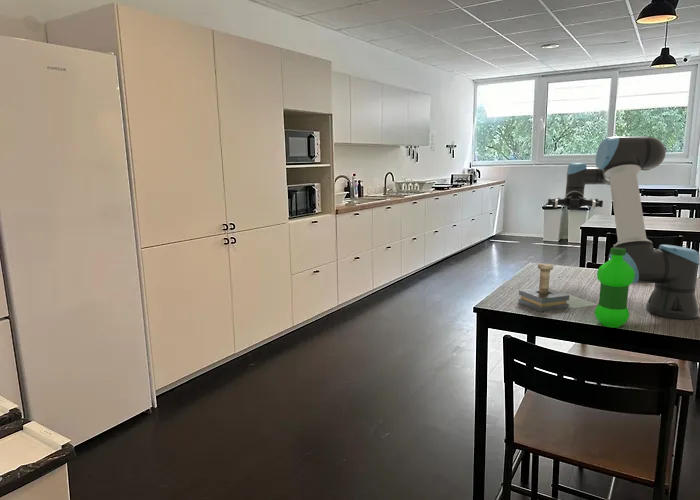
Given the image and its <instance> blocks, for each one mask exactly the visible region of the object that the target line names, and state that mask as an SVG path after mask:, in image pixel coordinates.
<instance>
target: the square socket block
mask: <svg viewBox="0 0 700 500" xmlns="http://www.w3.org/2000/svg"><path fill="white" fill-rule="evenodd" d="M569 295H570V294H567V293H564V292H561V291H558V290H555V289H553V288H550V287H549V291H548V294H546V295H542V294H539V287H533V288H524V289H519V290H518V296H520V297H518V301H517V302H518V304H519V305H522V306H524V307H527V308H530V309H532V310H534V311H537V312H539V313H545V312H549V311H554V310H556V311H557V310H562V309H569V308H570V307H569V304H568V303H567V300H569Z"/></svg>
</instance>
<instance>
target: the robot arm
mask: <svg viewBox="0 0 700 500" xmlns="http://www.w3.org/2000/svg"><path fill="white" fill-rule="evenodd" d="M666 152H667V151H666V147H665V145H664V143H662V141H660V140H659V139H657V138H655V137H652V136H645V135H643V136H619V135H617V136H611V137H610V136H609V137H605V138H603V140H601V142H600V143H599V144H598V148H597V150H596V154H595V165H596V166H595V167H592V166H590V167H589V166H587V164H586V163H584V162H581V163H580V162H578V163H577V162H571V163H568V165H567V171H566V184H565V185H566V186H565V195H564V198H561V197H556V198H548V199H547V205H548V206H551V208H558V206H564V207H566V208H568V209H569V210H573V211H577V210H579V209H581V208H582V207H592V209H593V210H595V209H596V208H603V203H604V201H603V200H601V199H599V198H595V199H594V198H589V199H587V198H586V197H584V196H585V195H584V194H585V185H607V186H610V191H611V198H612V199H611V200H612V207H613V213H614V222H615V229H616V230H615V231H616V236H617V242H616V243H615V244H614V245H613V247H617V248H624V249H626V254H625V255H623V260H624V261H625V262H626V263H628V264H629V265H630V266H631V267H632V268H633V269H634V272H635V277H634V280H633V282H632V285H635V284H654V286H653V287H654V288H653V291H652V292H651V295H650V296H649V298H648V301H647V302H646V305H645V306H646V307H645V310H646V311H648V312H649V313H651V314H653V315H657V316H658V317H659V316H660V317H664V318H670V319H677V320H692V319H697V318H699V312H700V309H699V306H698V301H697V297H696V287H697V281H698V280H697V279H698V274H699V273H698V272H699V266H700V253H699V251H697V250H695V249H692V248H688V247H685V246H678V245H672V244H659V247H658V248H657V249H656V248H655V249H654V246H653V242H652V240H650V239H648V237H647V233H646V228H645V227H646V226H645V221H644V220H645V219H644V213H643V207H642V201H641V193H640V188H639V187H640V186H639V181H638V180H639V179H638V174H639V173H640V172H641V171H644V172H645V171H646V172H647V171H650V170H652V169H654V168H657V167H658V166H660V165H661V164H662V163H663V161H664V160H665V158H666V154H667V153H666ZM610 259H612V254H610V253H609V254H608V260H607V261H609V260H610Z"/></svg>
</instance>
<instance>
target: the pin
mask: <svg viewBox="0 0 700 500" xmlns="http://www.w3.org/2000/svg"><path fill="white" fill-rule="evenodd" d="M537 269H539V270H540V271H539V283H538V284H539V286H538V288H539V294H542V295H546V294H548V291H549V288H550V276H551V275H550V274H551V270H553V269H554V264H549V263H538V264H537Z"/></svg>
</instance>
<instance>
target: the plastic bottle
mask: <svg viewBox="0 0 700 500" xmlns="http://www.w3.org/2000/svg"><path fill="white" fill-rule="evenodd" d="M609 254H612V259H610V260H609V261H608V260H607V261H606V262H604V263H603V264H602V265H600V266H599V267H598V269H597V270H596V271H597V272H596V276H597V277H596V278H597V280H598V282H600V289H599V298H598V305H596V308H595V309H594V316H595V318H596V319H597V321H598V322H599V323H600V324H601V325H602V326H603V327H607V328H619V327H621V326H623V325H625V324H626V323H627V322H628V319H629V318H630V312H629V311H630V310H629V308H628V307H627V306H628V296H629V289H630V286H631V284H632V282H633V280H634V277H635V272H634V269H633V268H632V267H631V266H630V265H629V264H628V263H626V262H625V261H624V260H623V255H625V254H626V249H624V248H617V247H614V246H613V247H611V248H610V250H609ZM632 285H633V284H632Z"/></svg>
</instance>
